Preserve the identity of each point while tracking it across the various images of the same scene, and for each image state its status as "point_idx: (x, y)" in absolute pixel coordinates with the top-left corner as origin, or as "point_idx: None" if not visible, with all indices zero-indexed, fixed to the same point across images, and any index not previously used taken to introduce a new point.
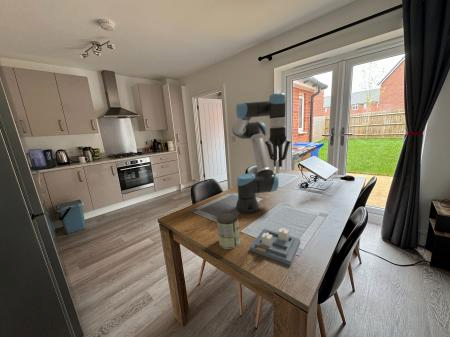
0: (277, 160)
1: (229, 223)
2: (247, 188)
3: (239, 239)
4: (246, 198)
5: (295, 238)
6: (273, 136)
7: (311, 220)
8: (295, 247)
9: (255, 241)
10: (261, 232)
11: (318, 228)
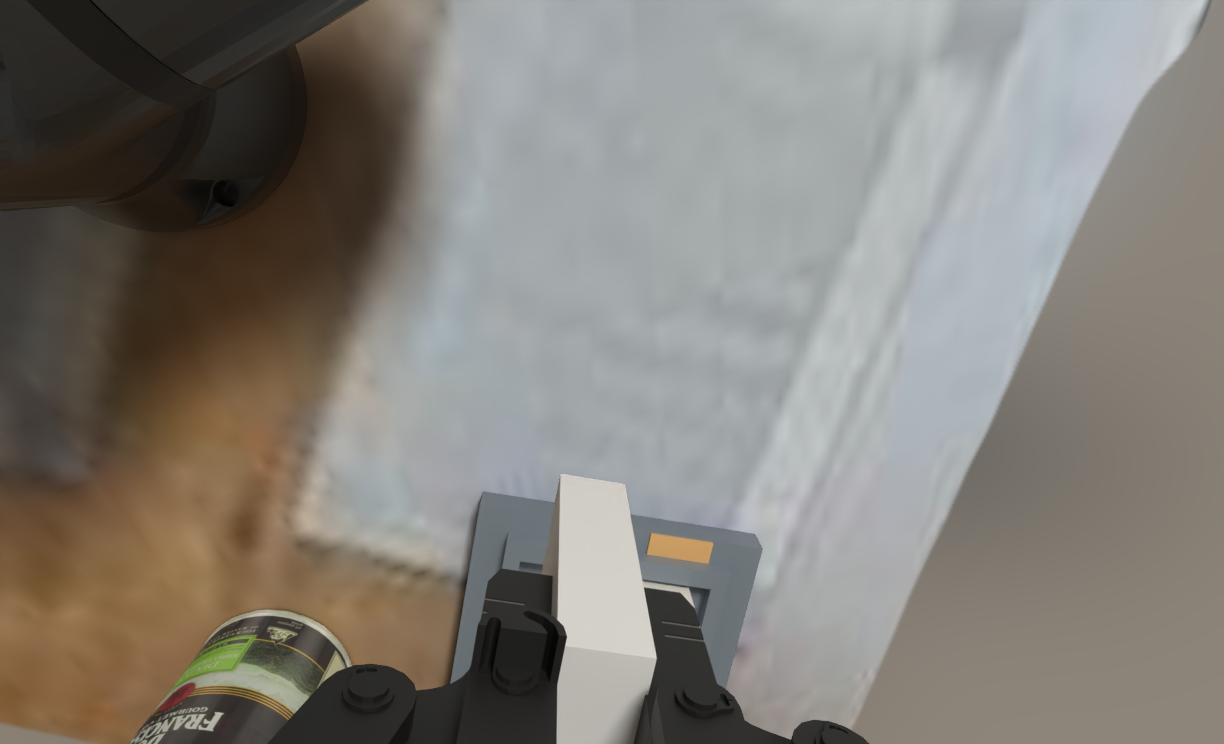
0: (571, 707)
1: None
2: (23, 194)
3: (339, 661)
4: (108, 201)
5: (729, 552)
6: None
7: (859, 185)
8: (731, 642)
9: (463, 666)
10: (474, 556)
11: (899, 308)
